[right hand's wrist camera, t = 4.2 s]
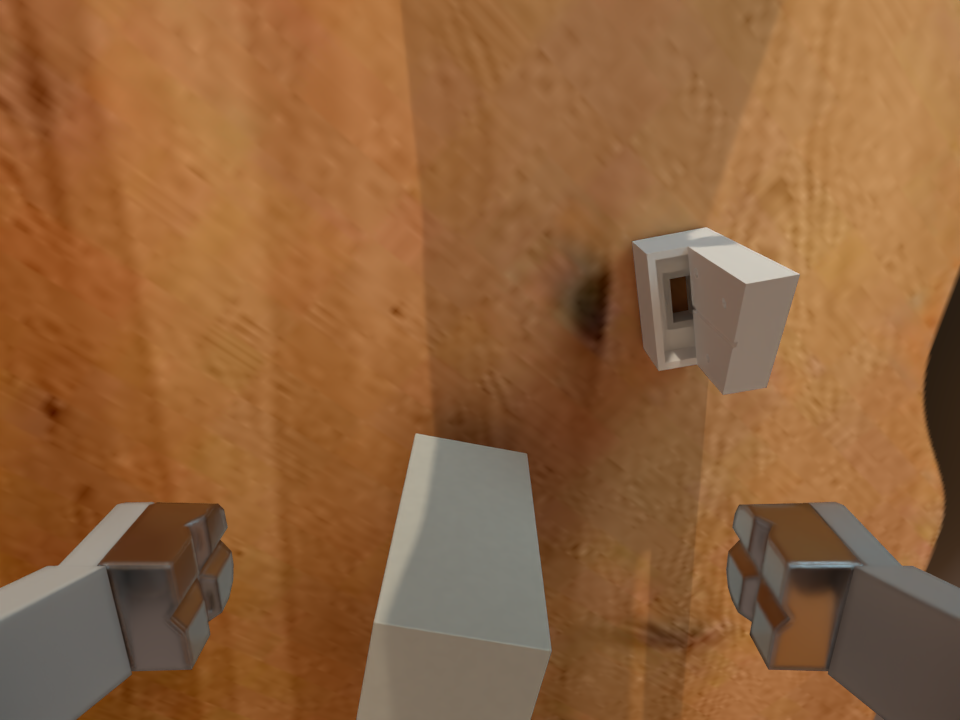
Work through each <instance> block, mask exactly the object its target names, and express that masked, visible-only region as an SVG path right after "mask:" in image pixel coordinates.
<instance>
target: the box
mask: <svg viewBox="0 0 960 720" xmlns="http://www.w3.org/2000/svg"><path fill="white" fill-rule="evenodd" d="M551 651H552V649H551V641H550V633H549V625H548V617H547V609H546V601H545V593H544V585H543V577H542V569H541V561H540V553H539V545H538V537H537V529H536V521H535V513H534V505H533V497H532V489H531V481H530V473H529V465H528V457H527V454H526V453H521V452H516V451H510V450H505V449H499V448H494V447H488V446H483V445H477V444H472V443H466V442H461V441H455V440H450V439H444V438H439V437H433V436H427V435H422V434H415V438H414V442H413V447H412V451H411V456H410V460H409V465H408V469H407V474H406V478H405V483H404V487H403V492H402V496H401V501H400V505H399V510H398V514H397V519H396V523H395V528H394V532H393V537H392V541H391V546H390V550H389V555H388V559H387V564H386V568H385V573H384V578H383V582H382V587H381V591H380V596H379V600H378V605H377V609H376V614H375V618H374V623H373V628H372V634H371V640H370V645H369V651H368V657H367V662H366V668H365V673H364V679H363V685H362V690H361V696H360V701H359V707H358V713H357V718H356V720H530V719H531V716H532V713H533V710H534V706H535V703H536V700H537V697H538V693H539V690H540V687H541V684H542V680H543V677H544V674H545V671H546V668H547V664H548V661H549V658H550V655H551Z"/></svg>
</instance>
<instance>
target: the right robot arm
mask: <svg viewBox="0 0 960 720" xmlns="http://www.w3.org/2000/svg"><path fill="white" fill-rule="evenodd" d="M226 529H227V522H226V517H225V512H224V509H223V508H222V507H221V506H220V505H219V504H209V503H160V502H157V503H153V502H126V503H121V504H117V505H116V506H115V507H114V508H113V509H112V510H111V511H110V512H109V514H108V515H107V516H106V517H105V518H104V519H103V520H102V521H101V522H100V523H99V524H98V525H97V526H96V527H95V528H94V529H93V530H92V531H91V532H90V533H89V534H88V535H87V536H86V537H85V538H84V540H83V541H82V542H81V543H80V544H79V545H78V546H77V547H76V548H75V549H74V550H73V551H72V552H71V553H70V554H69V555H68V556H67V557H66V558H65V559H64V560H63V561H62V562H61V563H60V564H59V566H46V567H44V568H42V569H40V570H38V571H36V572H34V573H31V574H29V575H27V576H25V577H23V578H21V579H19V580H17V581H14V582H12V583H10V584H8V585H6V586H4V587H2V588H0V720H76V719H77V718H79V717H80V716H81V715H82V714H83V713H85V712H86V711H87V710H88V709H90V708H91V707H92V706H93V705H95V704H96V703H97V702H98V701H100V700H101V699H102V698H103V697H104V696H106V695H107V694H108V693H109V692H111V691H112V690H113V689H114V688H116V687H117V686H118V685H119V684H121V683H122V682H123V681H124V680H125V679H127V678H128V677H129V676H130V675H132V672H131V671H154V670H189V669H192V668H193V666H194V664H195V662H196V660H197V658H198V656H199V655H200V653H201V651H202V649H203V647H204V645H205V643H206V641H207V640H208V638H209V636H210V630H209V624H208V622H209V621H210V620H212V619H213V618H214V617H216V616H217V615H219V614H220V613H222V611H223V609H224V607H225V605H226V603H227V601H228V599H229V596H230V591H231V587H232V583H233V558H232V552H231V550H230V549H229V548H228V547H227V546H226V545H225V544H224V543H223V542H222V541H221V540H220V539H221V537H222V536H223V534H224V532H225V531H226ZM733 529H734V531H735V532H736V534H737V536H738V537H739V539H740V540H739V541H738V542H737V543H736V544H735V545H734V546H733V547H732V548H731V549H730V550H729V552H728V560H727V568H726V571H727V582H728V589H729V592H730V595H731V599H732V601H733V603H734V605H735V607H736V609H737V611H738V613H740V614H741V615H743V616H744V617H746V618H747V619H749V620H750V621H751V622H752V624H751V630H750V636H751V638H752V640H753V641H754V643H755V645H756V647H757V649H758V651H759V653H760V655H761V656H762V658H763V660H764V662H765V664H766V666H767V668H768V669H769V670H805V671H829V672H828V674H829V675H830V676H831V677H832V678H834V679H835V680H836V681H837V682H839V683H840V684H841V685H842V686H843V687H845V688H846V689H847V690H848V691H850V692H851V693H852V694H853V695H855V696H856V697H857V698H858V699H859V700H861V701H862V702H863V703H864V704H866V705H867V706H868V707H869V708H871V709H872V710H873V711H874V712H875V713H877V714H878V715H879V716H881V717H882V718H883V719H884V720H960V588H958V587H956V586H954V585H952V584H950V583H948V582H945V581H943V580H941V579H939V578H937V577H935V576H933V575H931V574H929V573H926V572H924V571H922V570H920V569H918V568H916V567H914V566H902V565H901V564H900V563H899V562H898V561H897V560H896V559H895V558H894V557H893V556H892V555H891V554H890V553H889V552H888V551H887V550H886V549H885V548H884V547H883V546H882V545H881V544H880V543H879V541H878V540H877V539H876V538H875V537H874V536H873V535H872V534H871V533H870V532H869V531H868V530H867V529H866V528H865V527H864V526H863V525H862V524H861V523H860V522H859V521H858V520H857V519H856V518H855V516H854V515H853V514H852V513H851V512H850V511H849V510H848V509H847V508H846V507H845V506H844V505H842V504H839V503H837V502H815V503H794V504H750V505H739V506H738V508H737V510H736V512H735V516H734V521H733Z"/></svg>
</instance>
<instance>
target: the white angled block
mask: <svg viewBox="0 0 960 720" xmlns="http://www.w3.org/2000/svg"><path fill="white" fill-rule="evenodd" d="M632 247H633V256H634V266H635V275H636V284H637V293H638V302H639V311H640V320H641V329H642V338H643V348H644V350H645V351H646V353H647V354H648V356H649V357H650V359H651V360H652V362H653V363H654V365H655V366H656V368H657V369H658V371H661V370H667V369H673V368H679V367H685V366H690V365H696V364H697V365H698V366H699V367H700V369H701V370H702V371H703V372H704V373H705V374H706V376H707V377H708V378H709V379H710V380H711V381H712V383H713V384H714V385H715V386H716V387H717V389H718V390H719V391H720V392H721V393H722V394H723V395H725V394H731V393H737V392H743V391H749V390H755V389H761V388H767V384H768V381H769V377H770V374H771V371H772V367H773V364H774V361H775V357H776V354H777V350H778V347H779V344H780V340H781V337H782V333H783V330H784V327H785V323H786V320H787V317H788V313H789V310H790V306H791V303H792V300H793V296H794V293H795V290H796V286H797V283H798V279H799V276H800V274H798V273H796V272H794V271H792V270H791V269H789V268H787V267H785V266H783V265H781V264H779V263H777V262H775V261H773V260H771V259H769V258H767V257H765V256H763V255H761V254H759V253H757V252H755V251H753V250H751V249H749V248H747V247H745V246H743V245H741V244H739V243H737V242H735V241H733V240H731V239H729V238H727V237H725V236H723V235H721V234H719V233H717V232H715V231H713V230H711V229H709V228H707V227H705V228H700V229H695V230H689V231H684V232H679V233H673V234H668V235H663V236H657V237H652V238H647V239H641V240H636V241H632ZM684 276H686V288H687V301H688V310H686V311H680V312H675V313H673V311H672V300H671V289H670V279H673V278H678V277H684Z"/></svg>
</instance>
